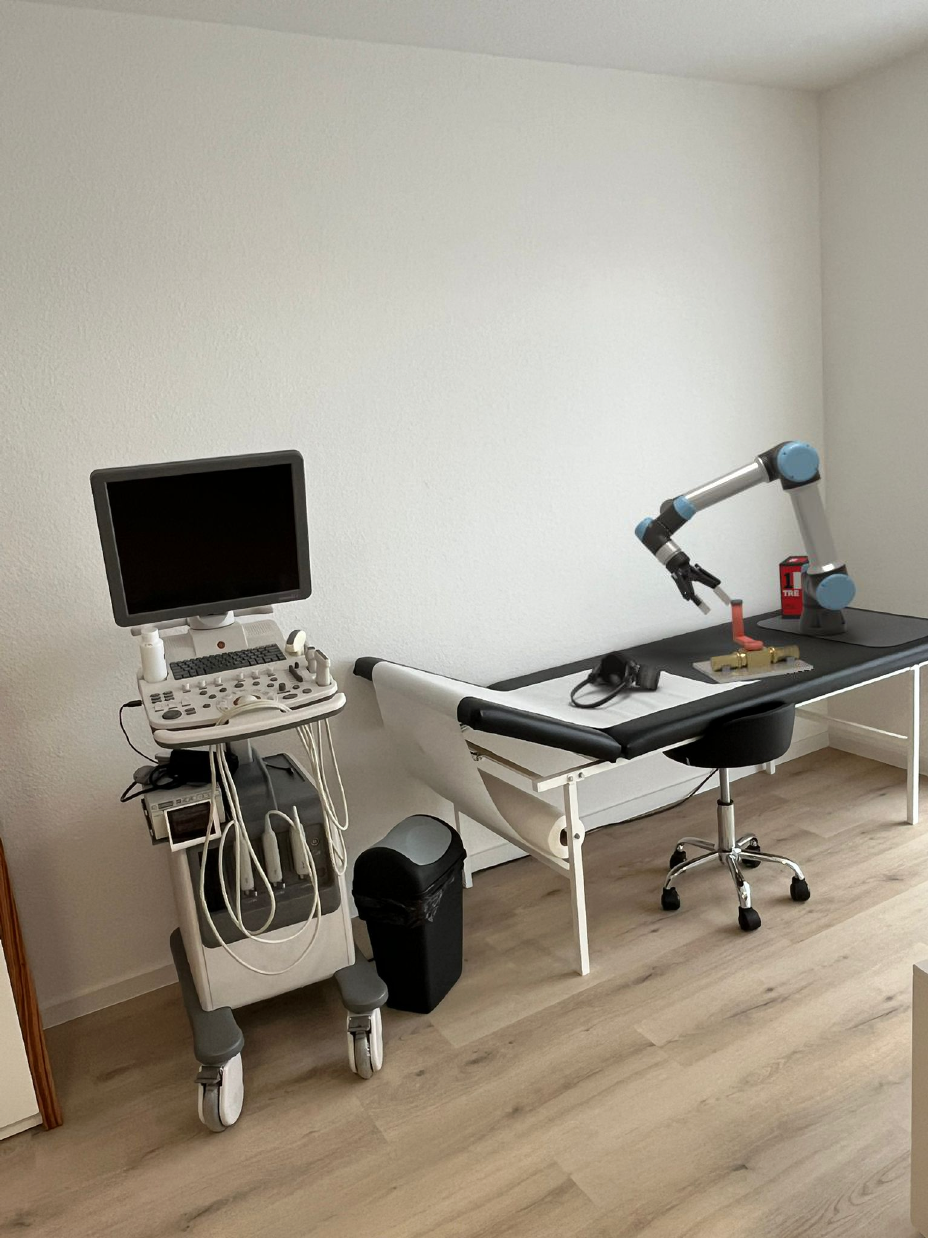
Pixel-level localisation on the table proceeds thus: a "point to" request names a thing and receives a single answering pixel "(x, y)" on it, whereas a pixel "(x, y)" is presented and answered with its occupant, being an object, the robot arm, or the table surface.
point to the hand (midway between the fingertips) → (719, 607)
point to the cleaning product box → (791, 586)
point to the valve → (753, 664)
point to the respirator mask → (618, 676)
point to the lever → (741, 627)
